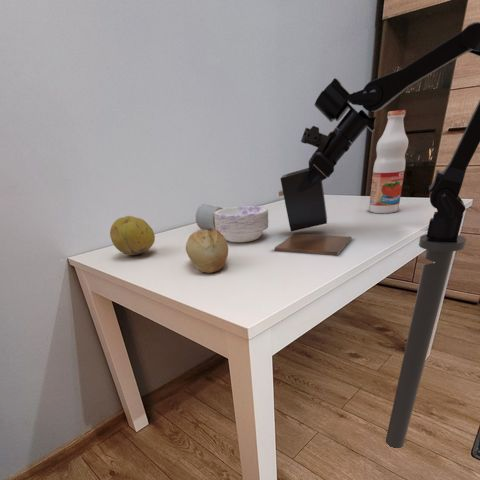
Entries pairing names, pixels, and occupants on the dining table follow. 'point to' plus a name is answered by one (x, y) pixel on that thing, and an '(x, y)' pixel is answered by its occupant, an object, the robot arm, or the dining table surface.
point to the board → (314, 244)
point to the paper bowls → (241, 222)
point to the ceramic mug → (206, 216)
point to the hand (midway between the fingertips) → (300, 189)
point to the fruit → (132, 235)
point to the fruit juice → (389, 165)
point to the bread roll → (207, 250)
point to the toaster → (303, 201)
